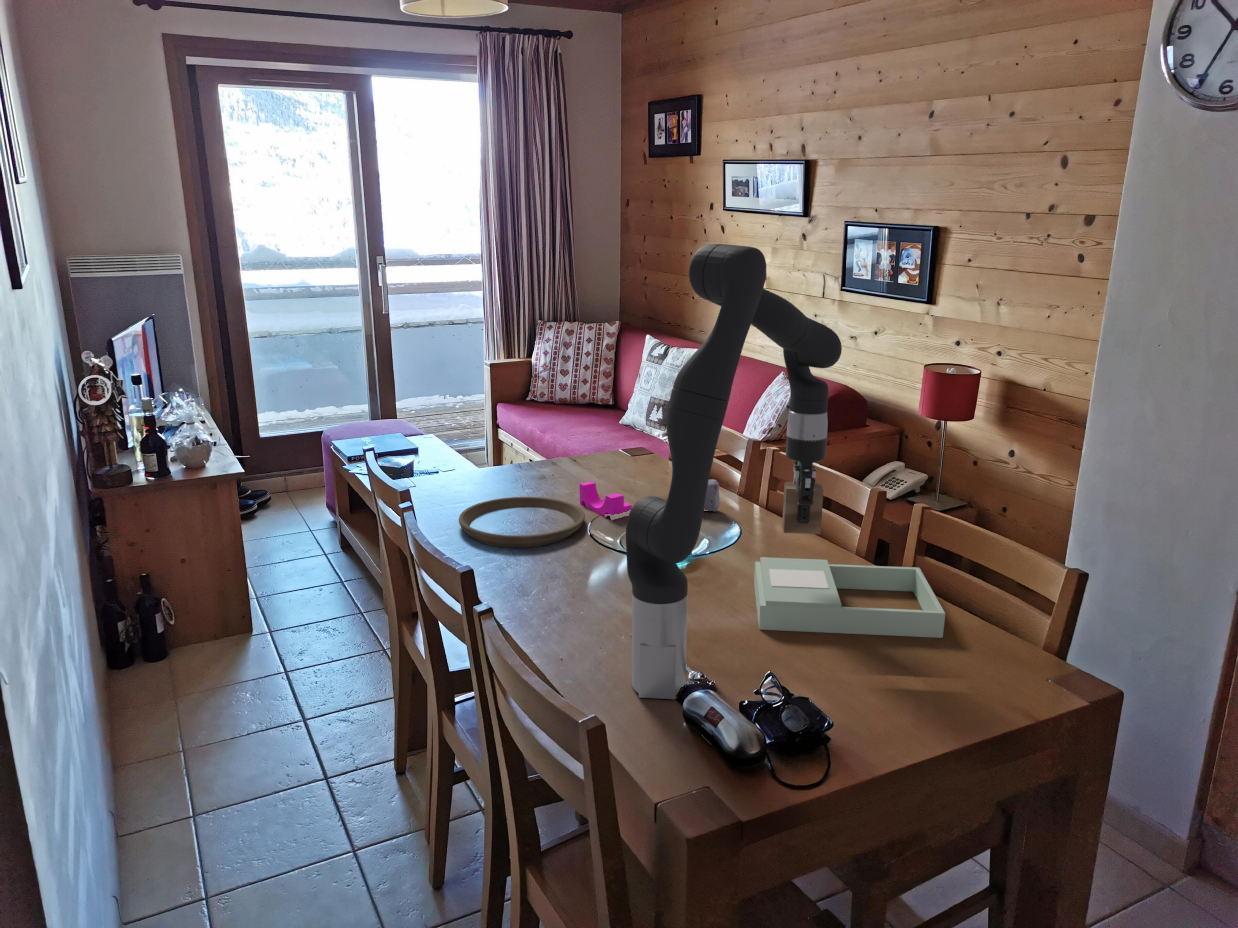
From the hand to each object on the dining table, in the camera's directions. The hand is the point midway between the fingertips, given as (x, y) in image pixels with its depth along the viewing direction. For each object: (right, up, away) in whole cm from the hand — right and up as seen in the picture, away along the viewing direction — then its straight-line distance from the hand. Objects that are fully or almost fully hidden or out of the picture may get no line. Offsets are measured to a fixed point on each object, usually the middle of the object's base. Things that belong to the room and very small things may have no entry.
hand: (801, 518), depth 175 cm
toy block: (-39, -3, +59) cm, 71 cm away
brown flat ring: (-60, -6, +48) cm, 77 cm away
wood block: (0, -2, +1) cm, 2 cm away
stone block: (-15, -3, +59) cm, 61 cm away
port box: (+9, -18, +4) cm, 21 cm away
